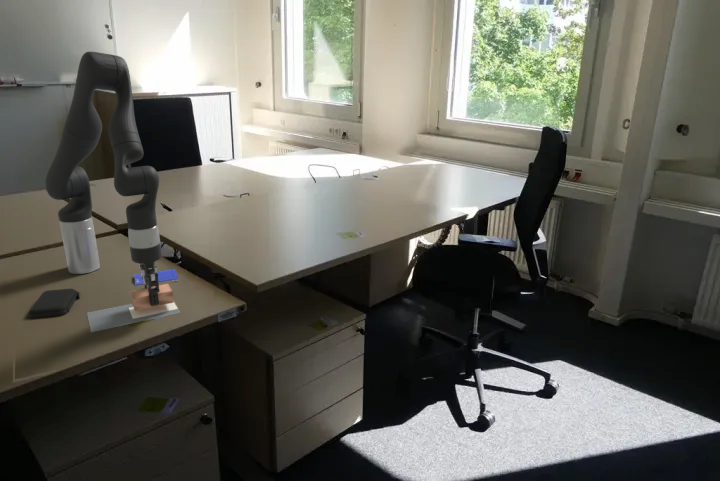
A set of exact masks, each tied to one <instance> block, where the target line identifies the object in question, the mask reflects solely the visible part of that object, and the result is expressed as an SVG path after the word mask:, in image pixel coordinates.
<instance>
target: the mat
mask: <svg viewBox="0 0 720 481" xmlns="http://www.w3.org/2000/svg"><path fill="white" fill-rule="evenodd" d="M181 313H182V312H181V311H180V309H179V307H178V305H177V303H176V301H174V303H169V304H164V305H159V306H155V307H150V308H145V309H140V310H136V311H135V310H134V307H133V305H132V303H130V304H124V305H119V306H114V307H110V308H105V309H104V308H103V309H100V310H99V309H98V310H94V311H88V312H86V315H87V319H88V324H89V329H90V333H96V332H100V331H105V330H109V329H113V328H118V327H122V326H127V325H130V324H131V325H132V324H135V323H136V324H137V323H140V322H145V321H150V320H155V319H159V318H163V317H167V316H169V317H170V316H173V315H178V314H181Z"/></svg>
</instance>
